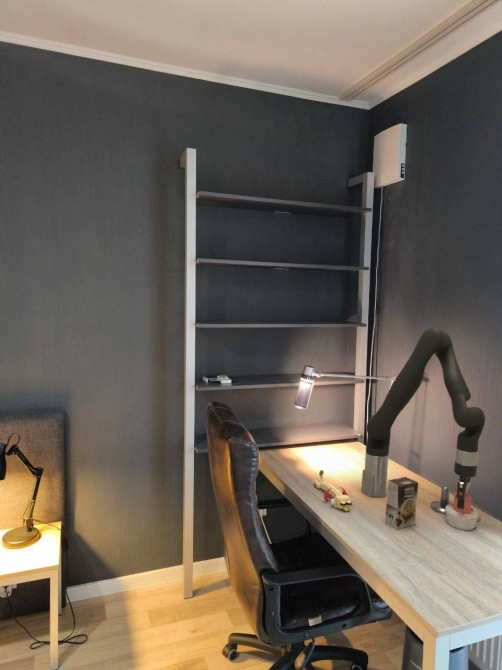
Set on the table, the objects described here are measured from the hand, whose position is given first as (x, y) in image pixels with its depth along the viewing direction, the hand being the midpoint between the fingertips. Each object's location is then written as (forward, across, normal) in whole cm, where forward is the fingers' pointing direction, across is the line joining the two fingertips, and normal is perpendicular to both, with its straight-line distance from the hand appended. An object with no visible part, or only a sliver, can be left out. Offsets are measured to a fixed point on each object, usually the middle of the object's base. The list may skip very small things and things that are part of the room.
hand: (462, 504), depth 170 cm
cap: (+3, 0, 0) cm, 3 cm away
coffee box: (+8, +14, -18) cm, 24 cm away
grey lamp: (+8, -9, -8) cm, 14 cm away
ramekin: (+8, 0, 0) cm, 8 cm away
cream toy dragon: (+8, +10, -46) cm, 48 cm away
